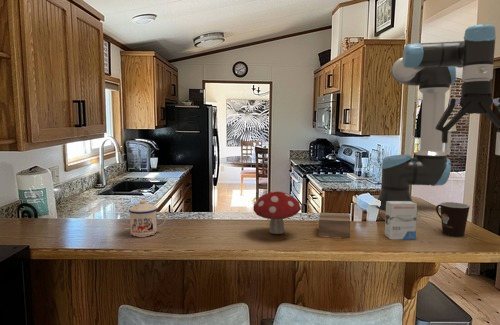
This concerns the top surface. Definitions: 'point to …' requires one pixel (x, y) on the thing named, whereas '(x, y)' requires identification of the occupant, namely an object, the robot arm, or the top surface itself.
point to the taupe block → (334, 225)
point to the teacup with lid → (144, 218)
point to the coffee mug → (453, 218)
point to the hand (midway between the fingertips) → (472, 154)
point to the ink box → (400, 220)
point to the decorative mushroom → (276, 209)
